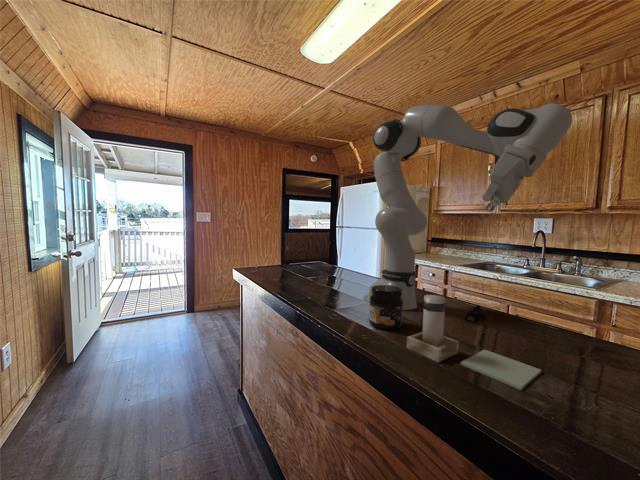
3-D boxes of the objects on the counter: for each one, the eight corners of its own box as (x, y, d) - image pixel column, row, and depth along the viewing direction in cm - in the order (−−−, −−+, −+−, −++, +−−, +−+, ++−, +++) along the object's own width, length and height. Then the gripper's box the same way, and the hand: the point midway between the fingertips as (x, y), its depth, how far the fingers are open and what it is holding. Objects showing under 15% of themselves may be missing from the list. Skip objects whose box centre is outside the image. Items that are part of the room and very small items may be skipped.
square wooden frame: (406, 348, 73) (407, 336, 73) (426, 340, 78) (426, 329, 78) (438, 362, 66) (439, 350, 66) (458, 352, 71) (458, 341, 71)
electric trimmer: (484, 314, 105) (484, 305, 105) (476, 324, 93) (477, 315, 93) (472, 311, 108) (473, 303, 107) (464, 321, 95) (464, 312, 95)
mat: (460, 364, 65) (460, 362, 65) (484, 351, 72) (484, 349, 72) (520, 390, 55) (521, 387, 55) (541, 372, 62) (541, 369, 62)
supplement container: (364, 327, 87) (365, 289, 87) (373, 317, 97) (374, 283, 96) (398, 333, 83) (400, 293, 82) (404, 322, 92) (406, 287, 91)
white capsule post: (417, 349, 73) (419, 296, 72) (428, 344, 76) (431, 293, 75) (435, 357, 68) (438, 301, 68) (446, 351, 71) (449, 298, 71)
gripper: (509, 173, 86) (479, 210, 89) (507, 141, 70) (471, 187, 72) (530, 182, 83) (499, 220, 85) (533, 150, 66) (495, 198, 69)
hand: (486, 205), depth 79 cm, fingers open, 8 cm apart
